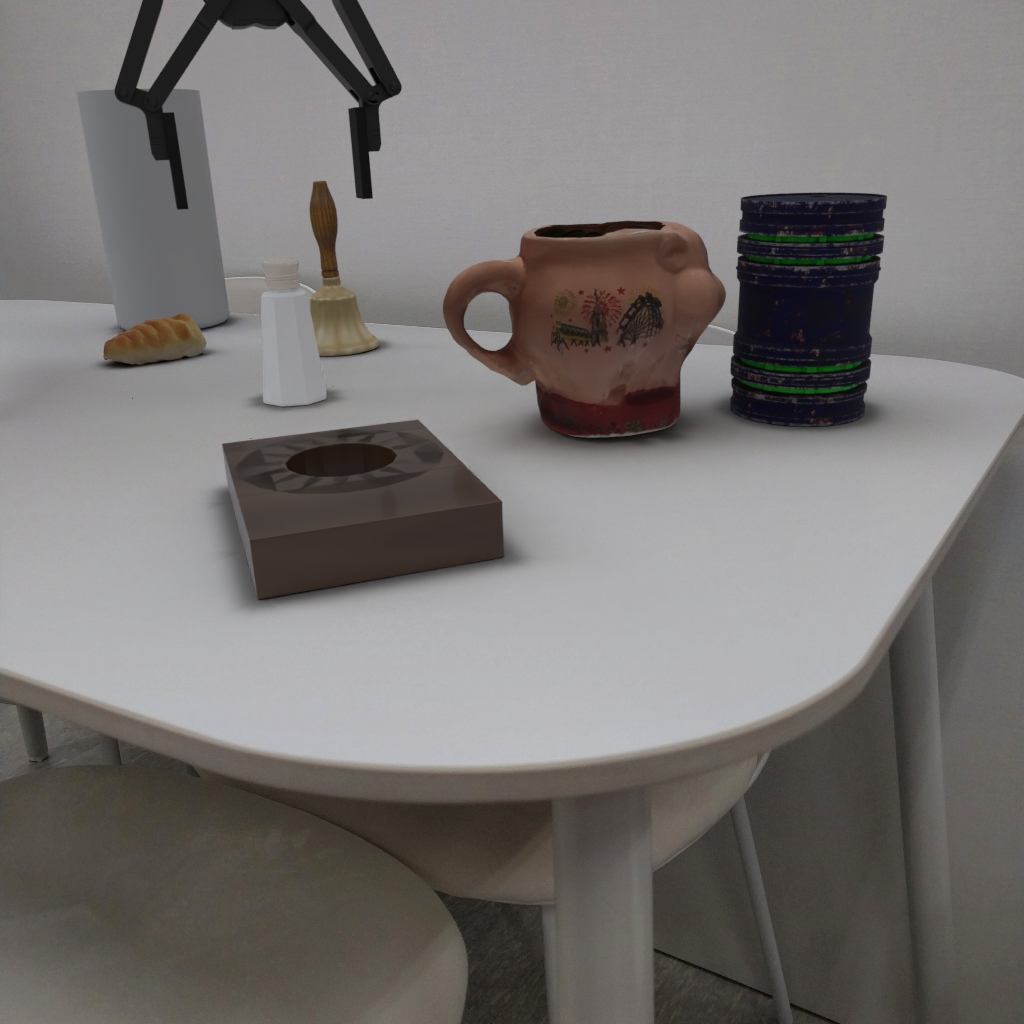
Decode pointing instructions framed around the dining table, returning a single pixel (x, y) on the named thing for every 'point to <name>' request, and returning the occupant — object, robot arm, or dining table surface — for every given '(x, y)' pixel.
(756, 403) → the storage jar
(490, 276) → the ceramic mug
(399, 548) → the holder
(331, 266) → the hand bell
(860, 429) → the dining table surface
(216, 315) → the cylinder vase
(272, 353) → the salt shaker
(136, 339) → the pastry
